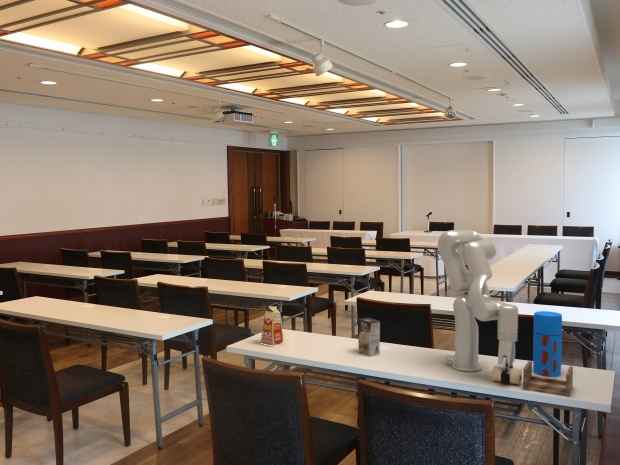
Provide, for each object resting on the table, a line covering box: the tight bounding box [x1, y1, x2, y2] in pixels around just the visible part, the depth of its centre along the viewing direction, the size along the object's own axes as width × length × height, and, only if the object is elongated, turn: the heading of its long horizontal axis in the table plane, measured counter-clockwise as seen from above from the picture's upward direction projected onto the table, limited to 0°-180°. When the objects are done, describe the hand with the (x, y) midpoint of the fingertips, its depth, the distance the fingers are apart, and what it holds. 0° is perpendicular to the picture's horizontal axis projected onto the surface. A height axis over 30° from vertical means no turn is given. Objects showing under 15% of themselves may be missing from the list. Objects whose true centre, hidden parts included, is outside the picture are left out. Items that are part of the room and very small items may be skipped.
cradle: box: [522, 360, 574, 398], centre depth 211 cm, size 16×12×8 cm
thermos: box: [532, 310, 563, 378], centre depth 230 cm, size 11×11×25 cm
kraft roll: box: [492, 365, 523, 386], centre depth 219 cm, size 11×6×6 cm, turn 59°
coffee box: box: [357, 317, 381, 357], centre depth 261 cm, size 9×6×16 cm
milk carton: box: [260, 305, 284, 346], centre depth 280 cm, size 9×9×20 cm
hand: (507, 380), depth 219 cm, fingers closed on kraft roll, 6 cm apart
